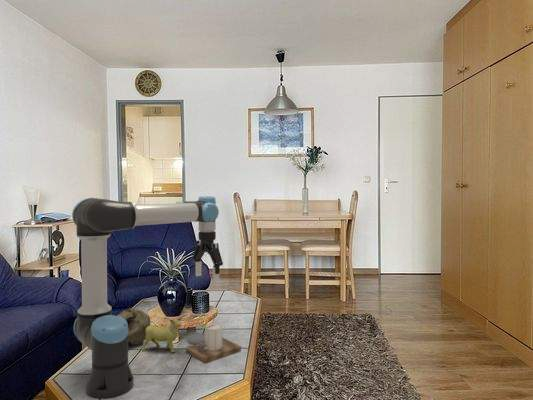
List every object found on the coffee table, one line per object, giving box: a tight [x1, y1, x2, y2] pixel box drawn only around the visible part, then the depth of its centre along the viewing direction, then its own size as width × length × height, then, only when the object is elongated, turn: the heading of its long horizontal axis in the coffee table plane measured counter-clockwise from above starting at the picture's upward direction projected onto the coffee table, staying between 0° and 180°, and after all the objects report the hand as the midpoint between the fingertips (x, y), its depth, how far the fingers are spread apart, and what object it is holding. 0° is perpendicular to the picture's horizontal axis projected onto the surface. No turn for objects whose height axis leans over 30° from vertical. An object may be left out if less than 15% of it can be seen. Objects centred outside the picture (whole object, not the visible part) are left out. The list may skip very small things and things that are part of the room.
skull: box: [116, 307, 151, 346], centre depth 181 cm, size 15×22×15 cm
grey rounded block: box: [204, 322, 223, 351], centre depth 172 cm, size 8×7×9 cm
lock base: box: [185, 337, 242, 364], centre depth 173 cm, size 18×14×8 cm
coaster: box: [186, 333, 205, 345], centre depth 186 cm, size 11×11×1 cm
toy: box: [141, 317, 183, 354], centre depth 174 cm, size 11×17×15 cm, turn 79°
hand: (207, 278), depth 185 cm, fingers open, 13 cm apart
